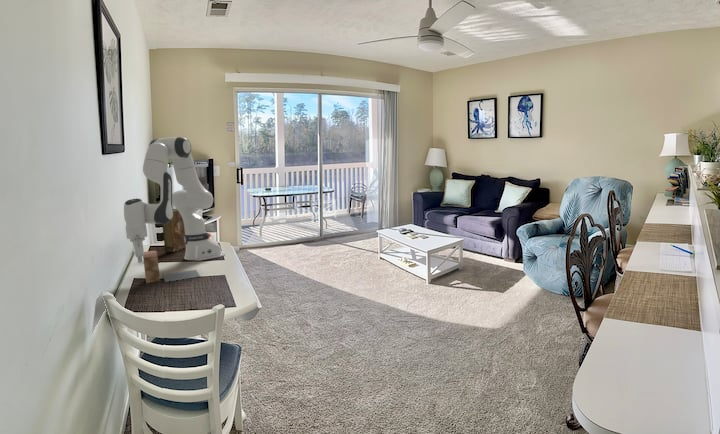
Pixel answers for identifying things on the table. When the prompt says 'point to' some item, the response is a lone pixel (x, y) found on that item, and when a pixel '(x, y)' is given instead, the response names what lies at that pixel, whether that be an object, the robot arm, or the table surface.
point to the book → (174, 233)
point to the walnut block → (151, 266)
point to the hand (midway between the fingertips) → (140, 262)
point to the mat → (181, 275)
